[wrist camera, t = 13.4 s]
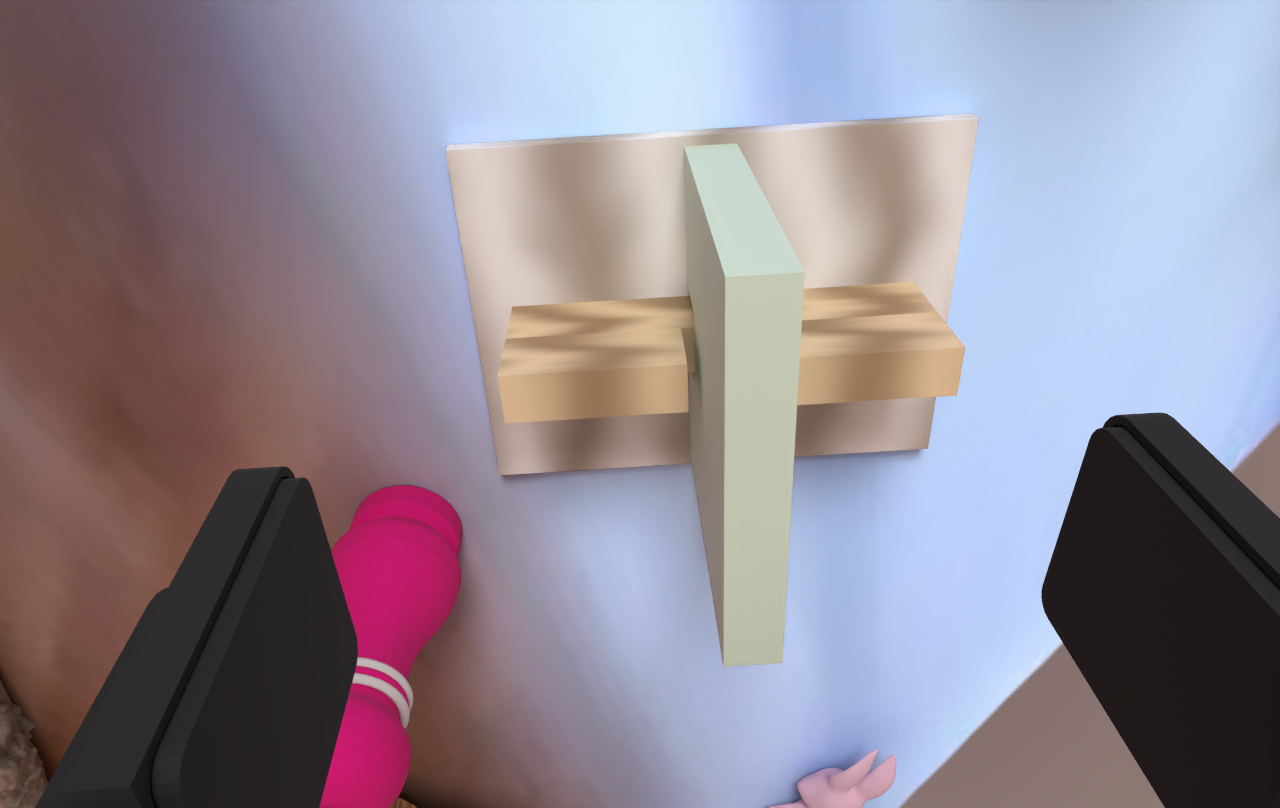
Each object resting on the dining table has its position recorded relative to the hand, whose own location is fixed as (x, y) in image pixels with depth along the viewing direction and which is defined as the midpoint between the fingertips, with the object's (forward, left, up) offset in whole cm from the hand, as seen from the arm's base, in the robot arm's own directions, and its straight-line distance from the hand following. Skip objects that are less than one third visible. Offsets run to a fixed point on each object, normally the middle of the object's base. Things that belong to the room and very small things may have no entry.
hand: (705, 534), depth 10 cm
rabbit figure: (+11, -52, -32) cm, 62 cm away
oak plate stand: (+4, -12, -32) cm, 34 cm away
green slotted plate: (+3, -12, -31) cm, 33 cm away
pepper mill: (-14, -25, -32) cm, 43 cm away
